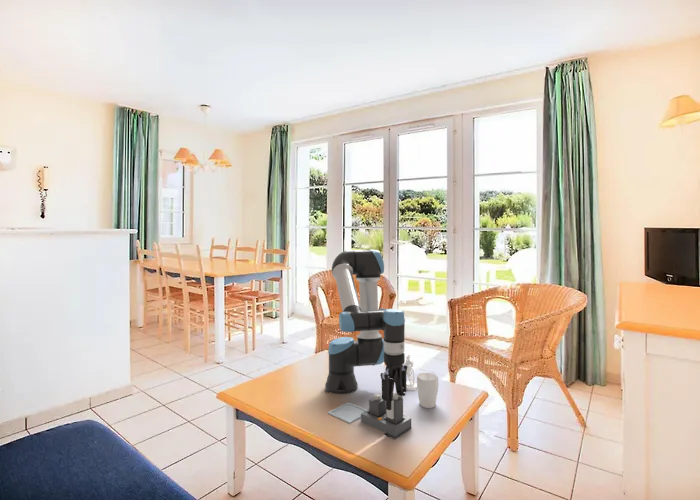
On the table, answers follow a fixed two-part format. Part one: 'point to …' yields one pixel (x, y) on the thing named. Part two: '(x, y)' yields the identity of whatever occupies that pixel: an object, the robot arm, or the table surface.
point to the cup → (427, 389)
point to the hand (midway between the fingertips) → (394, 415)
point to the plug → (396, 410)
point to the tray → (347, 412)
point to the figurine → (410, 384)
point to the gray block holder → (384, 418)
